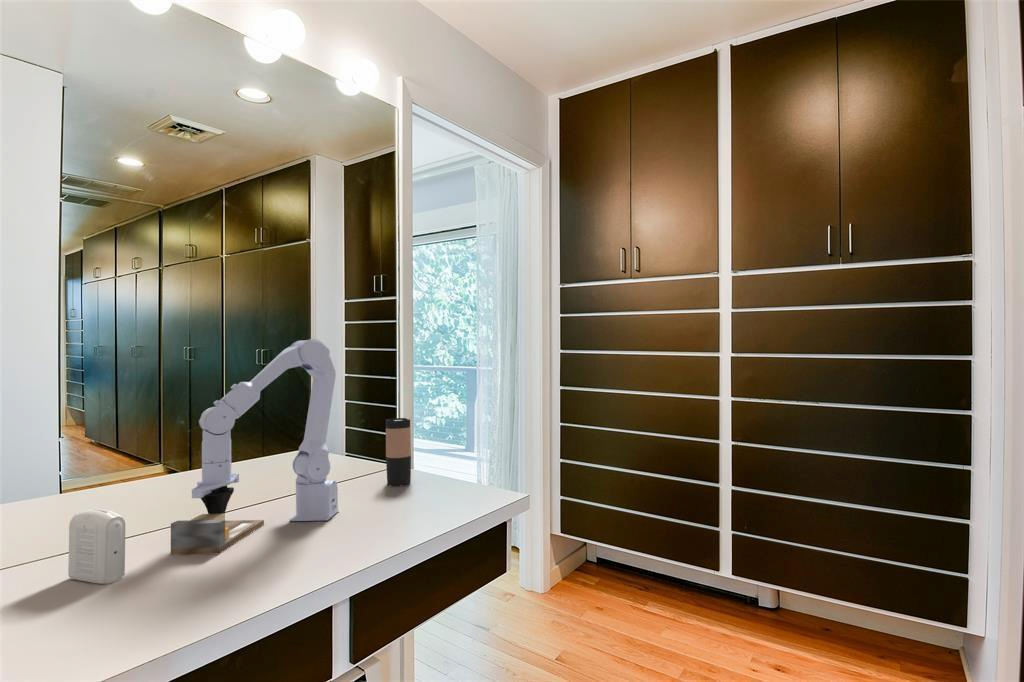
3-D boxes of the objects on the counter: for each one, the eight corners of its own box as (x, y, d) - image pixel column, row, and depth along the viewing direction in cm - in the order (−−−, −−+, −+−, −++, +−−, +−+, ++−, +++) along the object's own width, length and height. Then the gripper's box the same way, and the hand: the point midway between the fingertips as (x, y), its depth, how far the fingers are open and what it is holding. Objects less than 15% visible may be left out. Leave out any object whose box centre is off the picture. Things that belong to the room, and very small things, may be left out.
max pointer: (229, 537, 109) (229, 527, 109) (225, 539, 107) (225, 529, 107) (217, 537, 109) (217, 527, 109) (213, 539, 107) (213, 530, 107)
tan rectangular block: (236, 531, 113) (236, 513, 113) (226, 538, 109) (226, 519, 109) (202, 532, 113) (202, 514, 113) (190, 538, 109) (190, 519, 109)
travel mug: (382, 486, 157) (381, 420, 158) (392, 480, 165) (391, 418, 166) (406, 486, 156) (405, 420, 157) (414, 480, 164) (414, 417, 164)
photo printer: (129, 576, 94) (129, 508, 94) (104, 586, 90) (104, 515, 90) (89, 570, 97) (90, 504, 97) (63, 580, 93) (64, 511, 93)
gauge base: (263, 525, 122) (263, 498, 122) (219, 553, 104) (219, 522, 104) (222, 525, 122) (222, 499, 122) (170, 554, 104) (170, 523, 104)
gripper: (218, 455, 122) (218, 513, 122) (177, 468, 108) (177, 533, 107) (247, 454, 122) (247, 512, 121) (210, 467, 107) (210, 533, 107)
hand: (216, 522), depth 114 cm, fingers closed
